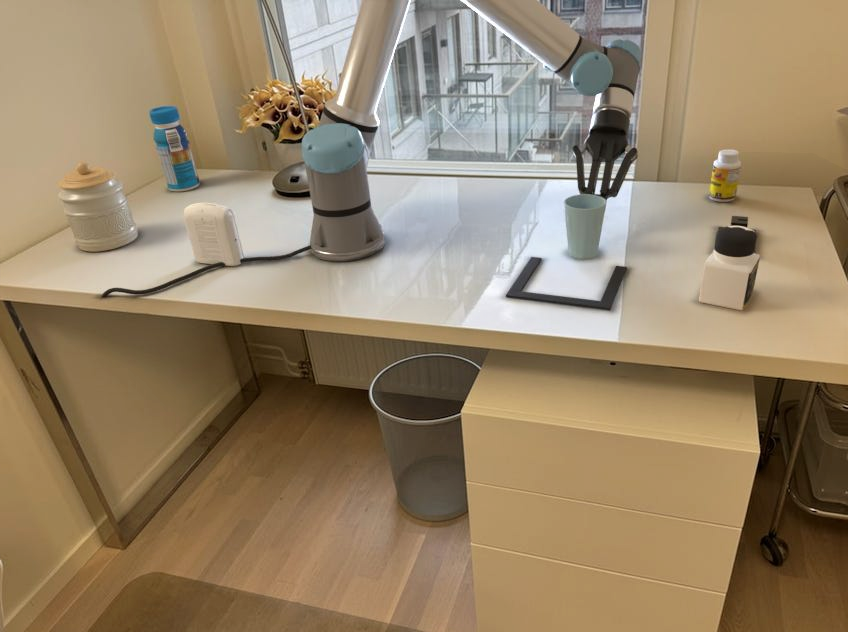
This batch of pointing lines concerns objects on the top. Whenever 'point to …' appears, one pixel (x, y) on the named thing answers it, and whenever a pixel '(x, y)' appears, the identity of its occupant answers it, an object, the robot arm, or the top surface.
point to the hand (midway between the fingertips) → (590, 228)
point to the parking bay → (603, 304)
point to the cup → (584, 224)
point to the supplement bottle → (725, 176)
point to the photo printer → (213, 234)
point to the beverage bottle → (174, 149)
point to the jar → (97, 208)
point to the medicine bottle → (730, 269)
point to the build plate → (740, 223)
